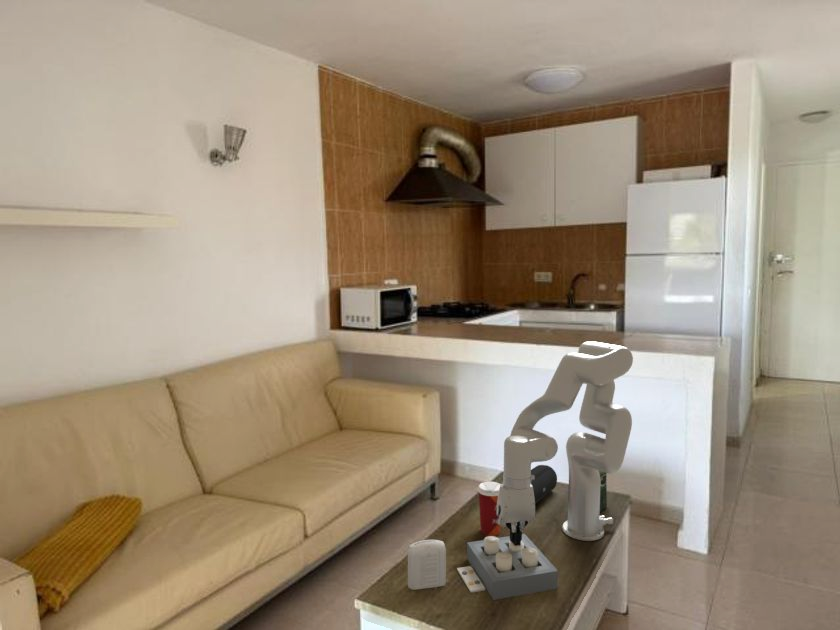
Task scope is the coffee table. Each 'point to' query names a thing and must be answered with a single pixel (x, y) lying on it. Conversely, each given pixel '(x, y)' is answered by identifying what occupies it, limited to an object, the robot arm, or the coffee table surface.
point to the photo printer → (426, 564)
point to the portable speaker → (543, 481)
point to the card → (471, 579)
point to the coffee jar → (603, 490)
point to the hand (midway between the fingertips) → (515, 543)
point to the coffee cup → (489, 508)
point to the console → (511, 581)
